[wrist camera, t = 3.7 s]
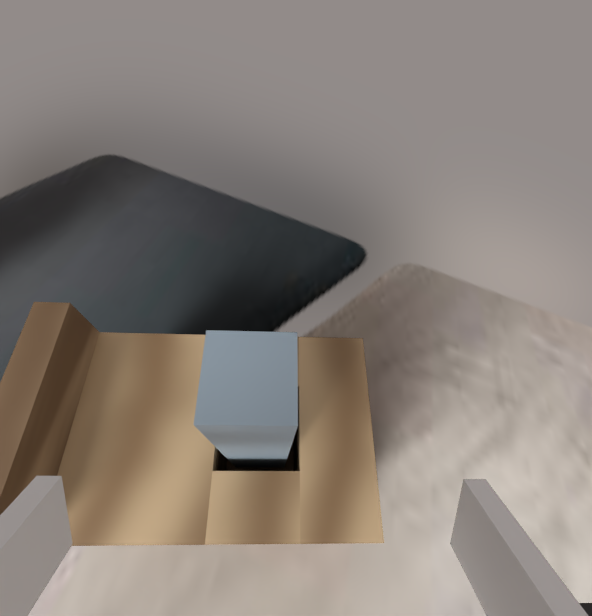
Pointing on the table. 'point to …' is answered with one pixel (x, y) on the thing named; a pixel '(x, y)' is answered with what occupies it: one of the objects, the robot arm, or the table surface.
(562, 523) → the table surface
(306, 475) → the tan holed block
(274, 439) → the blue-gray rectangular block
